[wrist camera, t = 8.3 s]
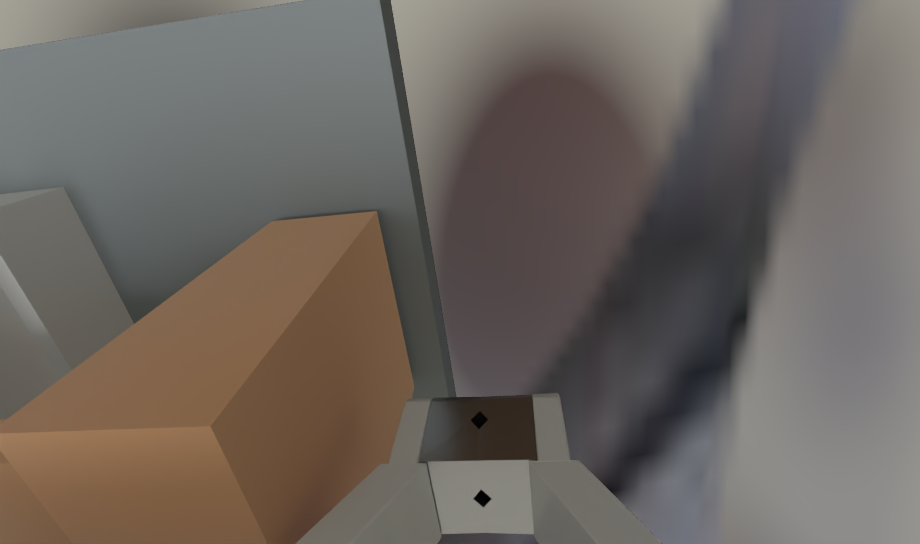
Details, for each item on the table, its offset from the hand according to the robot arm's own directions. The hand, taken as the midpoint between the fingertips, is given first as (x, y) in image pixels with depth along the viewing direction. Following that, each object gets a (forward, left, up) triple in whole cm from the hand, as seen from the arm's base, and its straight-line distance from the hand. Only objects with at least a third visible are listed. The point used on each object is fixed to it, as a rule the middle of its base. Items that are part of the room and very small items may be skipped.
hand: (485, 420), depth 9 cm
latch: (0, +6, -4) cm, 7 cm away
